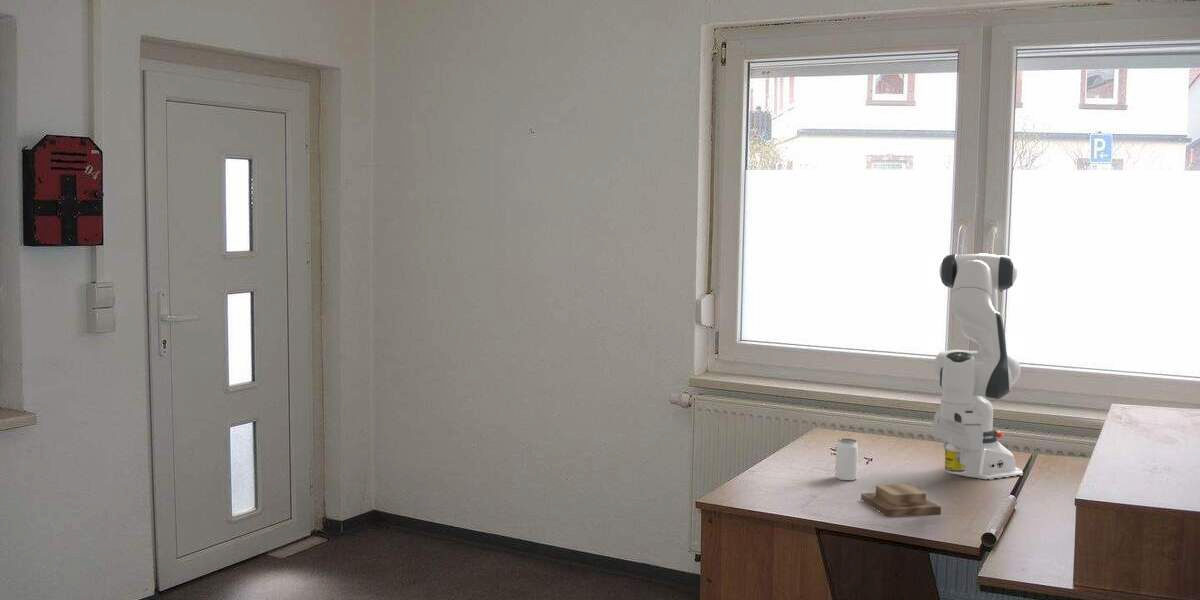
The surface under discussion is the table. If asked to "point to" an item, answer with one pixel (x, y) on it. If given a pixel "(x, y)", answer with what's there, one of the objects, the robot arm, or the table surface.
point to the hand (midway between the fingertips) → (955, 460)
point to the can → (846, 459)
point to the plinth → (900, 509)
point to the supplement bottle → (953, 459)
